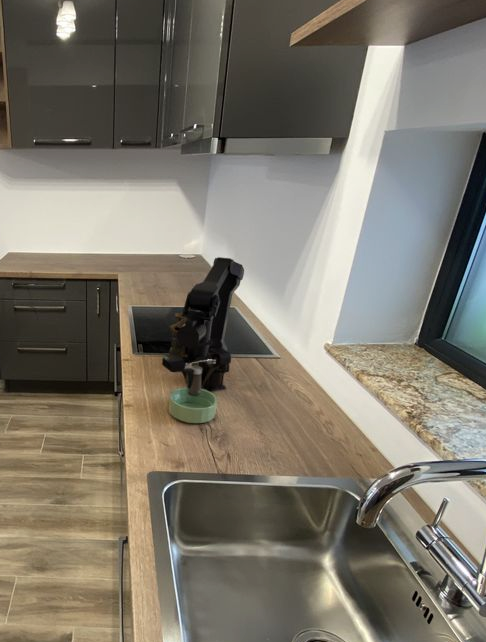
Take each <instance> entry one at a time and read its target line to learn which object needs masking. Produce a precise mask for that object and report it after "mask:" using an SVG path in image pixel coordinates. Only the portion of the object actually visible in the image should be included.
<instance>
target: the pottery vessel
mask: <svg viewBox="0 0 486 642" xmlns="http://www.w3.org/2000/svg"><path fill="white" fill-rule="evenodd" d="M174 317H175V318H176V320H177V322H176V323H174V324H171V325H170V326H169V328H170V329H171V336H172V338H177V332H178V330H179V329H180V328H181V327H182V326H183V325H184V324H185V322H186V320H187V317H182V312H176V313H175V314H174ZM173 354H177V355H178V356H179V357H181V358H184V357H187V355H184V354H183V353H182V351H179V352H177V349H172V348H171V347H170V348H169V353H168V355H173ZM191 366H198V363H192V365H191Z"/></svg>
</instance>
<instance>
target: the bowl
mask: <svg viewBox="0 0 486 642" xmlns="http://www.w3.org/2000/svg"><path fill="white" fill-rule="evenodd" d="M187 392H188V388H187V386H185V387H180V388H176V389H174V390H172V391H171V392H170V394H169V400H168V412H169V414H170V415H171V416H172V417H173V418H175V419H176V420H178V421H181V422H184V423H188V424H202V423H208V422H210V421H212V420H214V418H215V417H216V412H217V405H218V397H217V396H216V395H215V394H214V393H213V392H212V391H207V390H206V389H205V388H201V392H200V395H199V396H190V395H188V393H187Z"/></svg>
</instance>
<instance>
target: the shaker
mask: <svg viewBox="0 0 486 642" xmlns="http://www.w3.org/2000/svg"><path fill="white" fill-rule="evenodd" d="M191 368H192V369H193V370H194V374H193V379H192V384H191V387H190V389H188V392H187V393H188V395H190V396H199V395H200V392H201V389H202V387H201V382H202V367H200V366H199V365H197V366H191Z"/></svg>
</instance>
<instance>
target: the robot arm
mask: <svg viewBox="0 0 486 642" xmlns="http://www.w3.org/2000/svg"><path fill="white" fill-rule="evenodd" d="M244 276H245V268H244V266H243V264H241V263H238V262H236V261H235V260H234V259H232V258H229V257H219V256H218V257H215V258H214V260H213V263H212V266H211V268H210V270H208V273H207V274H206V276H205V278H204V279H203V280H202V281H201V282H199V283H196V284H195V285H194V286H193V287H192V288H191V289H190V291H188V293H187V295H186V299H185V301H184V302H185V303H184V306H183V309H182V311H181V313H182V317H187V320H186V322H185V324H184V325H183V326H182V327H181V328H180V329H179V330H178V332H177V338H173V337H172V338H171V341H170V346H171V347H170V348H172V349H177V352H179V351H182V353H183V354H184V355H187V357H184V358H181V357H179V356H178V355H177V354H173V355H169V354H167V355H164V356H163V357H162V359H161V360H162V361H161V365H162V366H163V367H164V368H166V370H168V371H169V372H170V373H179V372H181V373H182V376H183V379H184V383H185V385H186V386H185V387H187V388H188V389H190V387H191V384H192V379H193V374H194V370H193V369H192V368H191V365H192V363H197V364H198V366H200V367H202V382H201V388H203V389H204V390H207V391H209V392H213V391H218V390H225V389H226V385H224V384H223V383H224V376H225V374H226V373H229V372H230V364H231V362H232V355H231V352H229V351H228V347H227V344H226V342H225V336H226V330H227V326H228V320H229V315H230V310H231V305H232V300H233V299H232V298H233V294H234V293H235V292H236V291H237V289H238V288H239V287H240V285H241V281H242V280H243V279H244Z"/></svg>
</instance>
